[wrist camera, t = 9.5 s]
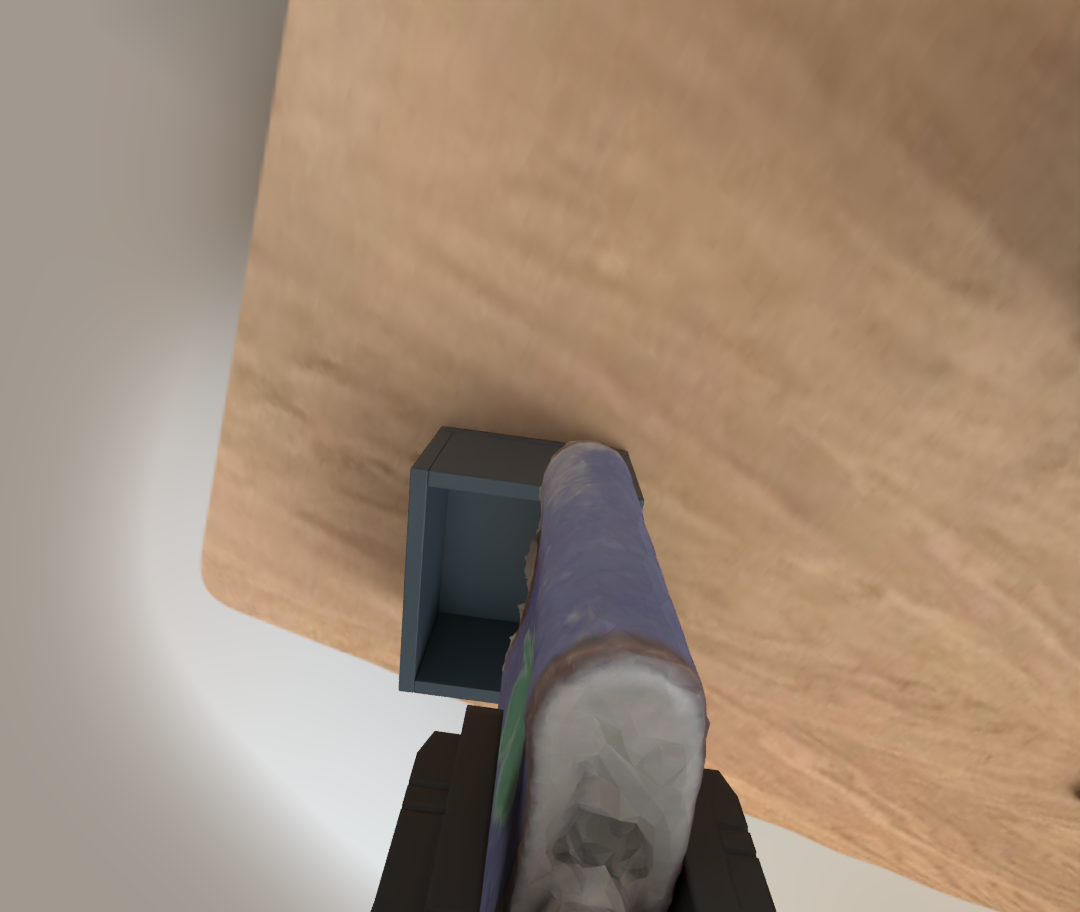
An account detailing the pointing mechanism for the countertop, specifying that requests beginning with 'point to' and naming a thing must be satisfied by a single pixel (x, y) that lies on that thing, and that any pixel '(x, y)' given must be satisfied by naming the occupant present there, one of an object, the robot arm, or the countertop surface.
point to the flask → (594, 710)
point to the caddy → (469, 558)
